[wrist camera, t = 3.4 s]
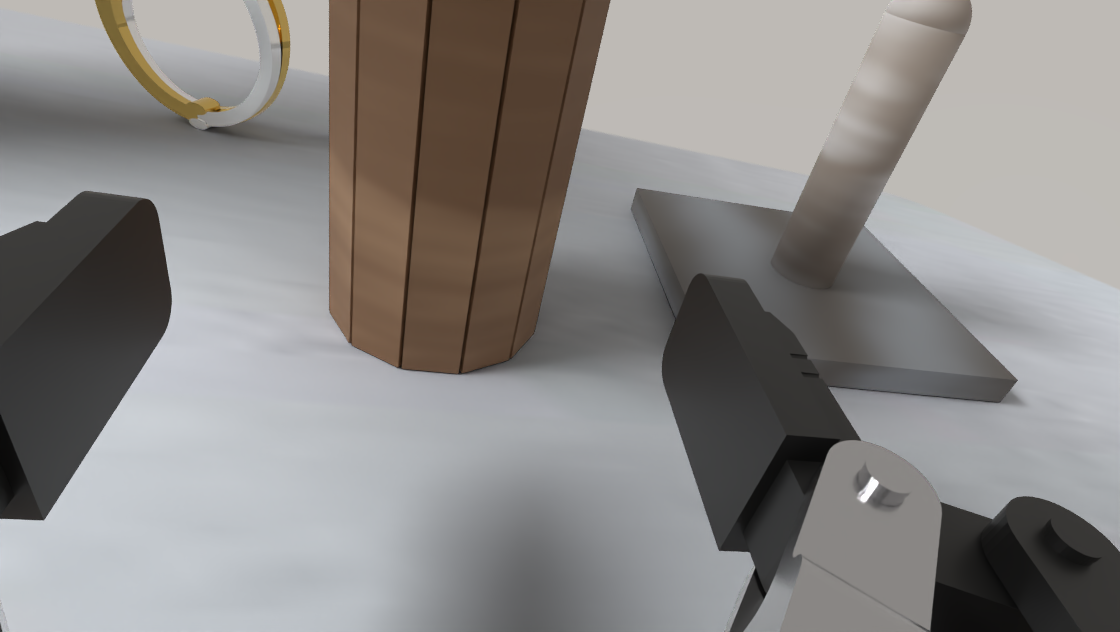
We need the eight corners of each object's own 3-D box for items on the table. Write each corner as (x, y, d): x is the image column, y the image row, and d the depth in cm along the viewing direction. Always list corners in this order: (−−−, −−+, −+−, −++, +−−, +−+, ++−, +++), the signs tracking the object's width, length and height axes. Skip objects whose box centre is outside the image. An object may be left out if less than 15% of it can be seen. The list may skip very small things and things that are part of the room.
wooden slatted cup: (313, 360, 17) (304, -83, 11) (350, 244, 21) (358, -106, 16) (539, 381, 18) (637, -11, 12) (527, 266, 23) (593, -52, 17)
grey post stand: (697, 373, 20) (872, -33, 13) (630, 208, 28) (717, -83, 22) (1000, 402, 22) (1274, 65, 15) (850, 241, 31) (986, -16, 24)
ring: (304, 138, 27) (299, -76, 23) (256, 162, 25) (240, -74, 20) (160, 93, 28) (128, -123, 24) (99, 112, 26) (49, -127, 21)
